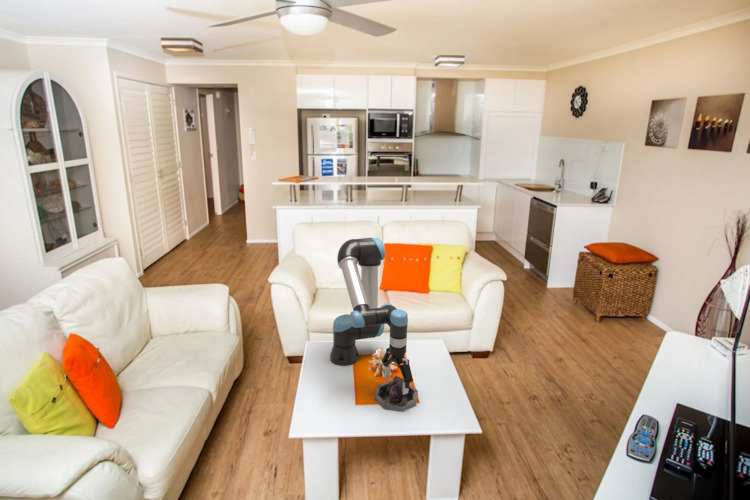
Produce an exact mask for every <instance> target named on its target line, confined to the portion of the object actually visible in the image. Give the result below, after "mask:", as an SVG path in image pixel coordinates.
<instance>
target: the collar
mask: <svg viewBox="0 0 750 500" xmlns="http://www.w3.org/2000/svg"><path fill="white" fill-rule="evenodd" d="M391 381H392V380H389V381H386V382H382V383H381V384H378V385H376V386H377V387H376V389H375V392H374V396H373V401H374V402H376V403H377V404H378V405H379V406H380V407H381V408H382V409H383V410H388V411H395V412H404V411H406V410H409V409H412V408H414V407H416V406H417V402H418V396H419V395H418V394H419V391H418V389H417V388H415V387H414V386H413V385H412V384H411V383H409V390H408V393H407V394H406V395H405V396H404V397H403V399H401V400H399V402H398V403H396V404H394V403H391V402H390V396H389V394H388V393H387V392H386V389H387V388H388V384H389V382H391Z"/></svg>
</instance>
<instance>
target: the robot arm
mask: <svg viewBox="0 0 750 500" xmlns="http://www.w3.org/2000/svg"><path fill="white" fill-rule="evenodd" d="M385 258H386V249H385V246H384V243H383V241H382V239H380V238H379V237H364V238H350V239H348V240H346V241H345V242H343V244H341V246H340V248H339V250H338V252H337V260H336V261H337V264H338V268H339V269H340V270H341V271H342V275H343V278H344V281H345V286H346V289H347V293H348V297H349V300H350V304H351V307H352V311H351V312H350V314H349V313H348V314H346V313H345V314H342V315H339V316H337V317H336V318H335V319H334V320H333V325H332V330H333V331H332V334H333V340H332V341H333V345H332V348H331V351H330V353H329V357H330V358H329V359H330V361H331V363H333V364H334V365H337V366H350V365H353V364H355V363H357V362H358V361H359V358H360V357H359V350H358V348H357V345H356V341H357V340H358V341H359V340H364V339H374V338H378V337H381V335H383V333H384V330H385V325H387V326H389V344H388V345H389V347H387V348H386V350H385V353H384V356H383V357H382V359H381V363H382V364H383V366H384V380H388V379H391V369H392V367H391V365H392V363H395V364H396V365H397V367H398V368H399V371H400V373H401V376H402V379H404V381H403V395H404V394H407V393H408V390H409V384H411V383H413V382H414V378H413V375H412V370H411V366H410V360H409V359H406V358H405V355H406V353H407V345H408V344H407V343H408V340H407V339H408V325H409V324H408V323H409V318H408V317H409V316H408V312H407V311H405V310H403V309H398V308H397V307H395V306H394V305H393V304H391V303H389V302H388V303H387V302H386V303H384V304H382V305H380V307H378V306H379V305H378V304H379V292H378V291H379V288H378V287H379V267H380V266H381V264H382V261H383V260H385ZM358 266H360V268H361V271H359V268H358ZM360 272H361V273H360Z"/></svg>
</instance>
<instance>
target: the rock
mask: <svg viewBox="0 0 750 500" xmlns="http://www.w3.org/2000/svg"><path fill="white" fill-rule="evenodd" d="M390 381H391V382H389V384H388V388H387V389H386V392H387V393H388V394H389V396H390V402H391V403H394V404H396V403H398V402H399V400H401V399H403V397H404V396H405V395H406V394H404V395H403V381H404V379H403V377H401V376H398V375H395V376H393V377H392V379H391V380H390Z"/></svg>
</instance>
